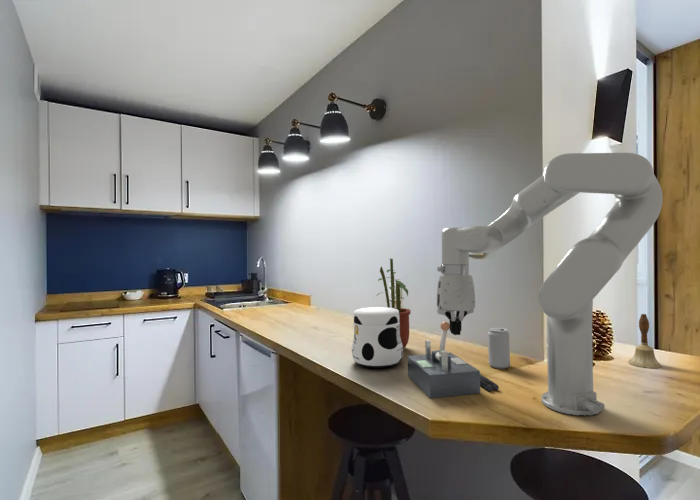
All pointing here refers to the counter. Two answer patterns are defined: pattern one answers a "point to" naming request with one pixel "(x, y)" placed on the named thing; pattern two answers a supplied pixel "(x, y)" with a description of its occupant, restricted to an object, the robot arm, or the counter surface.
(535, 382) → the counter surface
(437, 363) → the breaker panel
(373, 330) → the milk container
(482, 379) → the cord bundle
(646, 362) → the hand bell
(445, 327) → the lever
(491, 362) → the beverage can
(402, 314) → the potted plant
